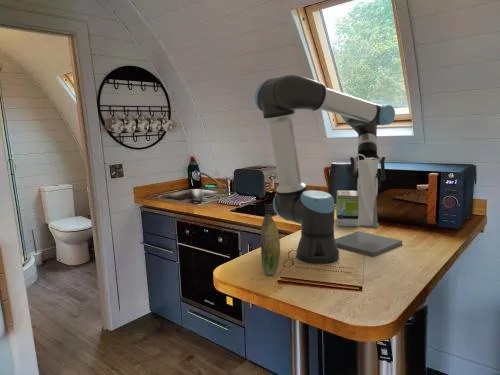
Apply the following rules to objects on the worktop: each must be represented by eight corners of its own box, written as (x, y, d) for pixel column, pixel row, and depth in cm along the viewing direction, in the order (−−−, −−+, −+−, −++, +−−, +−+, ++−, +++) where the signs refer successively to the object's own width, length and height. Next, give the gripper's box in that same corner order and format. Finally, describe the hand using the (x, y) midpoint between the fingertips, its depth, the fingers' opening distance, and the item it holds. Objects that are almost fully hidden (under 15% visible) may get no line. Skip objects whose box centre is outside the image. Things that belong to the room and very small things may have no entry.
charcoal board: (373, 256, 138) (373, 252, 138) (328, 244, 153) (328, 241, 153) (402, 244, 150) (402, 240, 150) (358, 234, 166) (358, 231, 165)
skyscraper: (354, 227, 149) (355, 154, 144) (357, 222, 156) (358, 153, 152) (377, 228, 146) (378, 154, 141) (379, 223, 153) (380, 153, 148)
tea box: (358, 226, 178) (359, 195, 176) (336, 226, 180) (336, 195, 178) (356, 218, 193) (356, 189, 191) (336, 218, 195) (336, 189, 193)
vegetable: (280, 271, 127) (279, 212, 123) (281, 278, 120) (280, 216, 117) (261, 271, 127) (260, 212, 124) (261, 279, 121) (260, 217, 118)
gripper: (391, 153, 159) (393, 199, 146) (344, 153, 164) (342, 198, 151) (392, 140, 153) (394, 188, 140) (343, 141, 158) (341, 187, 145)
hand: (367, 193), depth 145 cm, fingers closed on skyscraper, 6 cm apart
